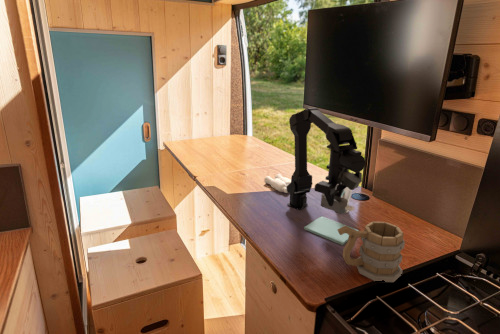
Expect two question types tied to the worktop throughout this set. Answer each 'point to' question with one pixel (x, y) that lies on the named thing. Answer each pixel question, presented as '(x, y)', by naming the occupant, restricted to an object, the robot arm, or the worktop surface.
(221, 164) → the worktop surface
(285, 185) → the binoculars
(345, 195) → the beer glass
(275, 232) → the worktop surface
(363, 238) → the tankard
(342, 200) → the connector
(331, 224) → the mat
